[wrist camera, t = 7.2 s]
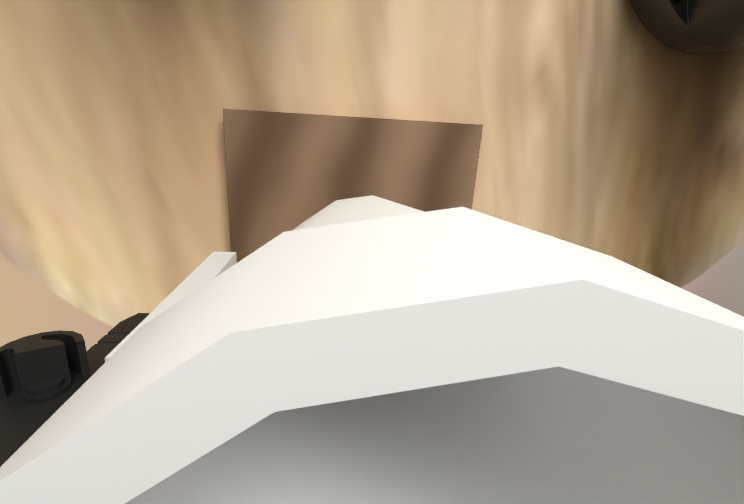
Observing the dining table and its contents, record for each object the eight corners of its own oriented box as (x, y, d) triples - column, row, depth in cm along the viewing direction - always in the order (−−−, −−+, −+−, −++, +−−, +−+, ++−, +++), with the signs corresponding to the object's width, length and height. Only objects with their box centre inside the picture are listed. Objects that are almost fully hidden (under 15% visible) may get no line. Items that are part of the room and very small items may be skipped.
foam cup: (273, 381, 17) (110, 1012, 5) (223, 174, 14) (-464, 437, 2) (479, 349, 18) (807, 855, 5) (470, 141, 15) (1133, 197, 2)
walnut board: (475, 125, 29) (482, 124, 27) (455, 285, 33) (460, 292, 31) (228, 110, 27) (223, 108, 26) (237, 281, 31) (233, 288, 30)
